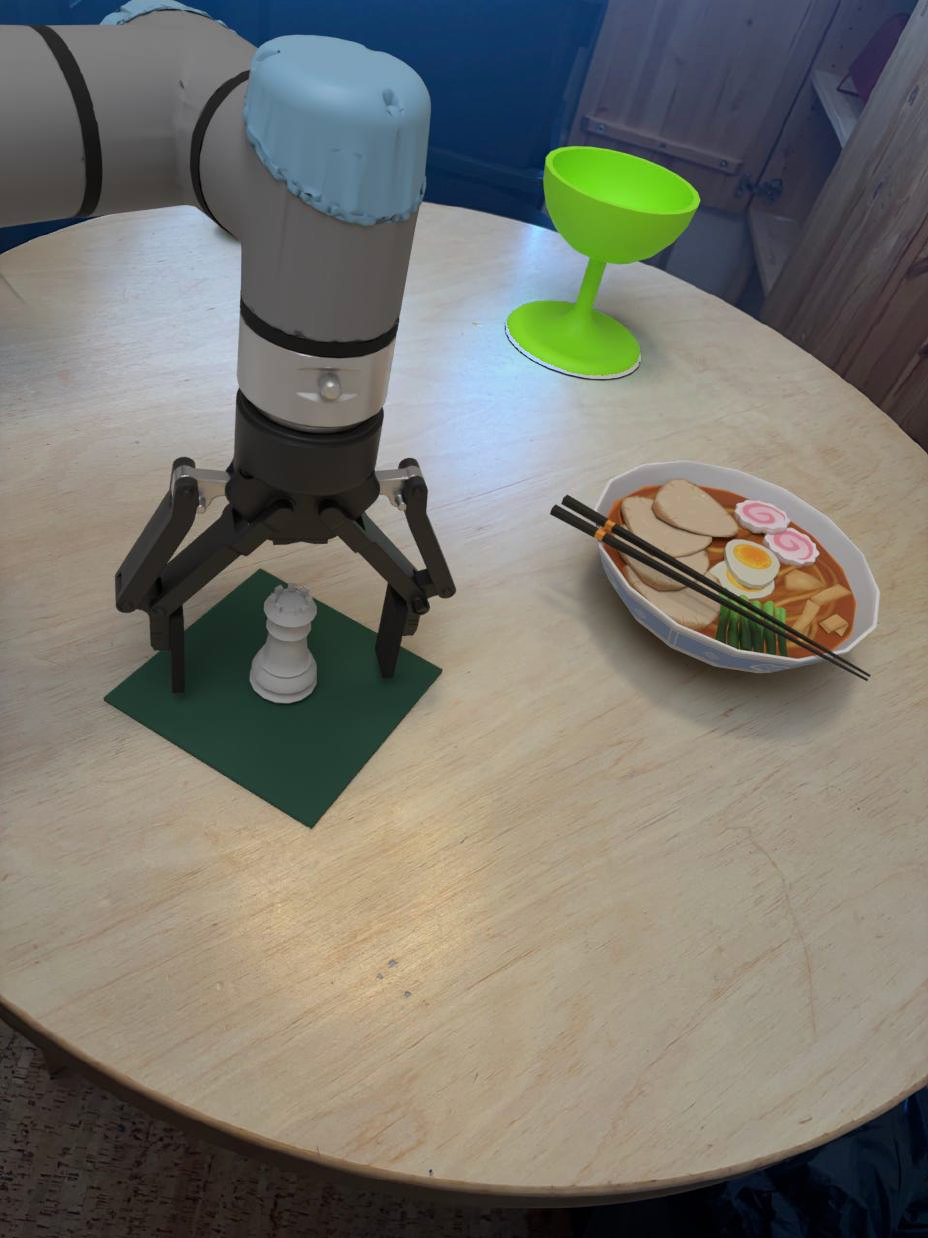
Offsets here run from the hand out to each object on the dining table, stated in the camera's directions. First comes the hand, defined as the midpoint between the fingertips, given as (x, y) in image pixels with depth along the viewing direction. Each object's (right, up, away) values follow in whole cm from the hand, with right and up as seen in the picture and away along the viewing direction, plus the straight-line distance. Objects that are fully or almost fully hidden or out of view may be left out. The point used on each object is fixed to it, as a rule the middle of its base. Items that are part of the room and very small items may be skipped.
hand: (284, 670), depth 63 cm
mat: (0, -1, +1) cm, 1 cm away
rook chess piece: (0, -1, +1) cm, 1 cm away
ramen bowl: (+31, +3, +15) cm, 35 cm away
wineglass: (+24, +35, +44) cm, 61 cm away
